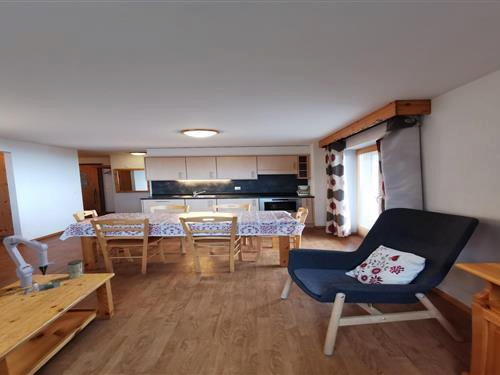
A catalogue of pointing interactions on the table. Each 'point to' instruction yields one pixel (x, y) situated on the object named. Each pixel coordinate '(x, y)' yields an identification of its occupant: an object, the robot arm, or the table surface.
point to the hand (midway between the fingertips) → (44, 275)
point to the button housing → (49, 286)
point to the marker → (34, 285)
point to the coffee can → (75, 269)
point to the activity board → (40, 288)
